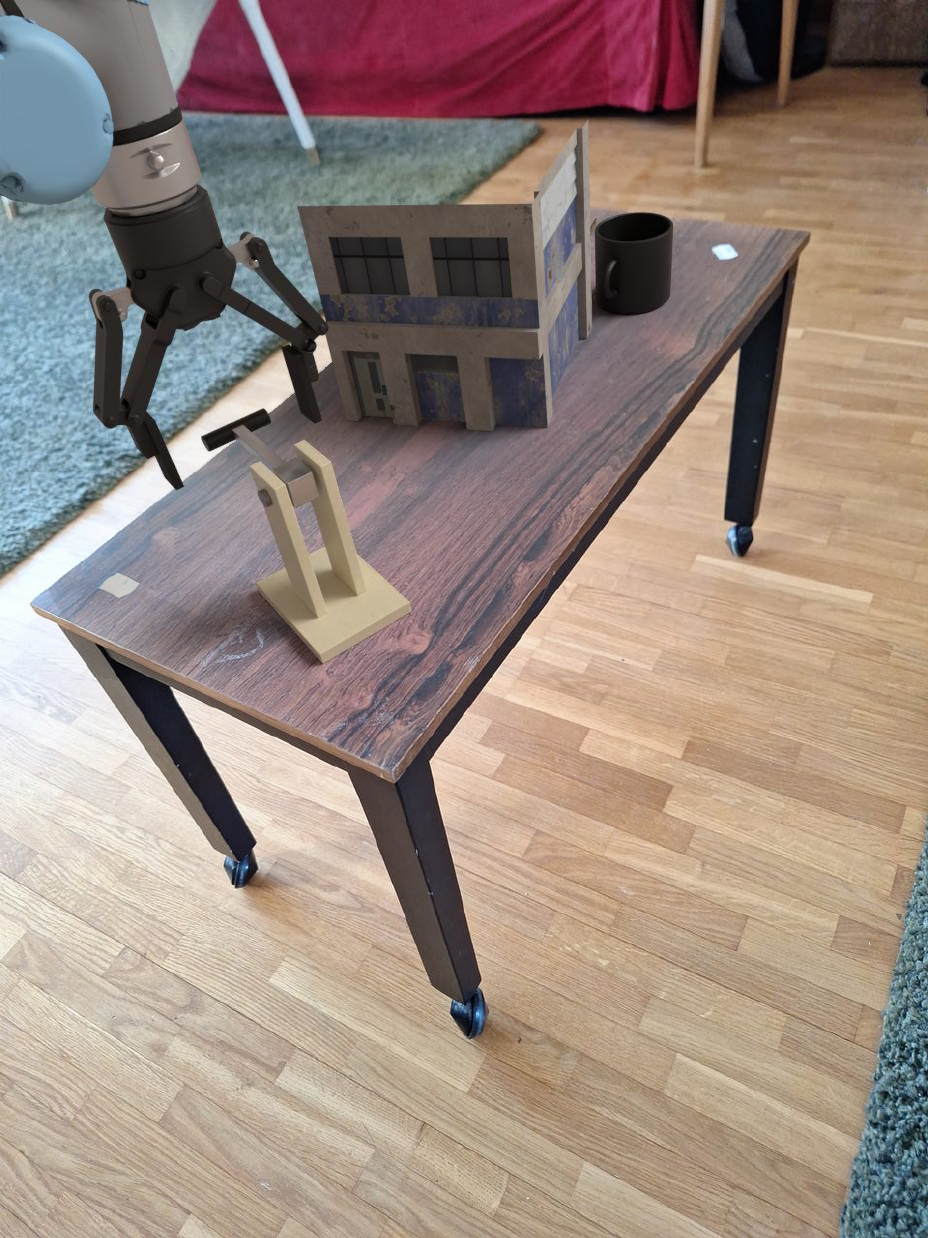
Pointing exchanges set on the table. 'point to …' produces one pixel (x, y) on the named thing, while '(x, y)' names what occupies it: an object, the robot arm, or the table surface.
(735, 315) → the table surface
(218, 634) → the table surface
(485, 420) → the building
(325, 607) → the bracket
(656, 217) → the mug
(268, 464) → the lever
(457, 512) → the table surface
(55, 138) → the robot arm
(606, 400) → the table surface
